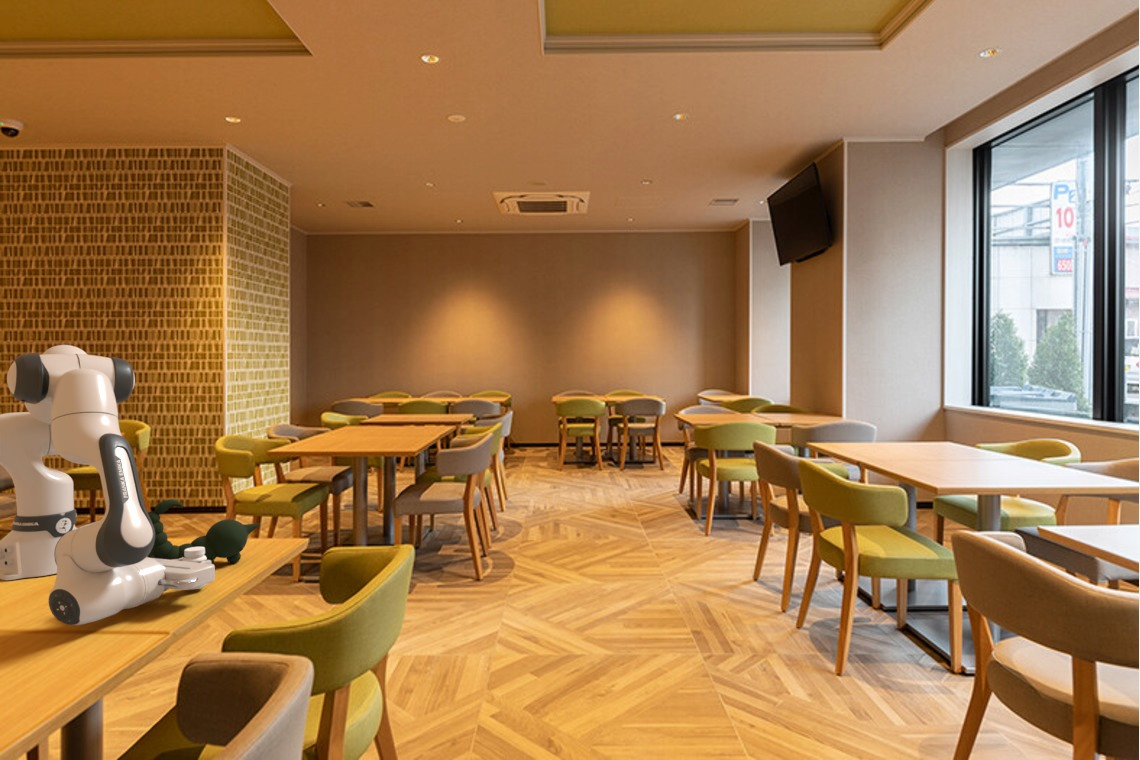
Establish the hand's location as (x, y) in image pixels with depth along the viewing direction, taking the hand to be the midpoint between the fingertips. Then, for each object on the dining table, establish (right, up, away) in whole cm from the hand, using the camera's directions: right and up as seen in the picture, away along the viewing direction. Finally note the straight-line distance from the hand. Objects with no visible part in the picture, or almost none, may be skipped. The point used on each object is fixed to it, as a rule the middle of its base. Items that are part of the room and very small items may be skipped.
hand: (197, 562), depth 148 cm
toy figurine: (-8, -6, +17) cm, 20 cm away
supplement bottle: (0, -5, -1) cm, 5 cm away
